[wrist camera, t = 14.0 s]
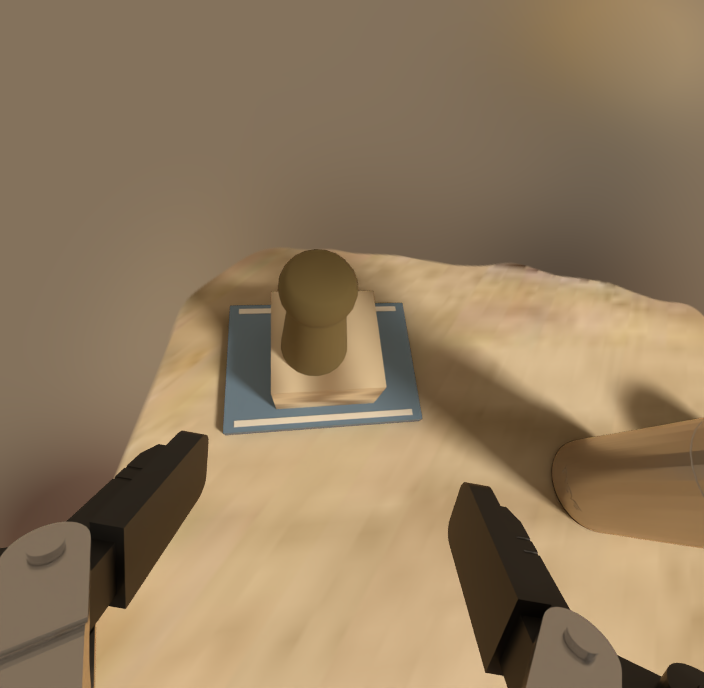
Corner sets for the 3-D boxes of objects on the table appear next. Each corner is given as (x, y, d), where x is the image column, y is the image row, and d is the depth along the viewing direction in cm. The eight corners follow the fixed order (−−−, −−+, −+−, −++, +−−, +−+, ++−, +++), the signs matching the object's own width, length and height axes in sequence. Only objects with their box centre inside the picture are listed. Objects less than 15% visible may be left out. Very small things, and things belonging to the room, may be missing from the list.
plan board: (399, 307, 41) (402, 302, 40) (418, 421, 36) (422, 418, 35) (232, 310, 38) (229, 305, 37) (225, 435, 33) (222, 433, 32)
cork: (288, 309, 31) (281, 225, 21) (352, 321, 32) (373, 244, 22) (273, 369, 29) (257, 306, 19) (342, 382, 29) (361, 326, 19)
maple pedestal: (363, 318, 39) (373, 290, 33) (373, 403, 35) (386, 387, 30) (275, 320, 37) (271, 291, 32) (276, 409, 33) (270, 393, 28)
